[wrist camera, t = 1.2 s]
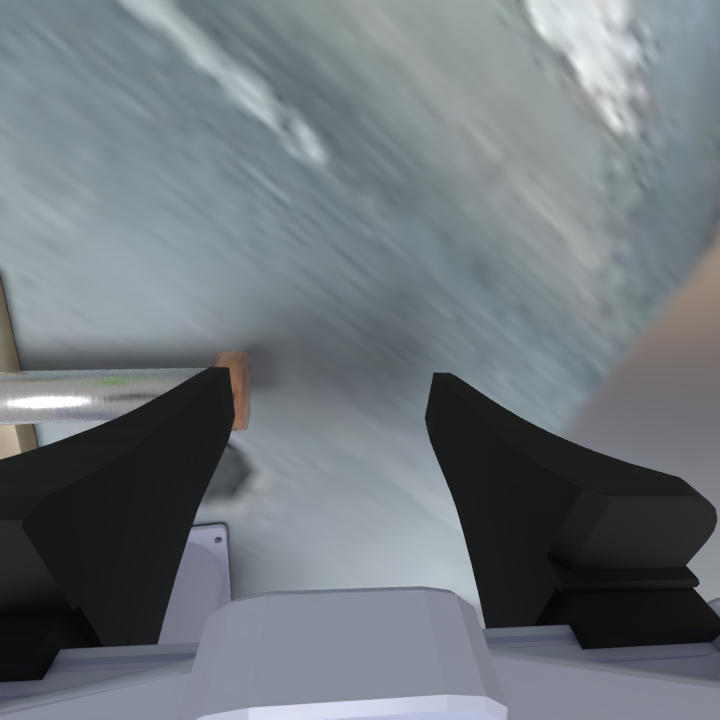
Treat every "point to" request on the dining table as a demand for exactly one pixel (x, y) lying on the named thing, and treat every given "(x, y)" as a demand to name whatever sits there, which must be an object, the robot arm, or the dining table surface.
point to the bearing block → (4, 358)
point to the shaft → (106, 392)
